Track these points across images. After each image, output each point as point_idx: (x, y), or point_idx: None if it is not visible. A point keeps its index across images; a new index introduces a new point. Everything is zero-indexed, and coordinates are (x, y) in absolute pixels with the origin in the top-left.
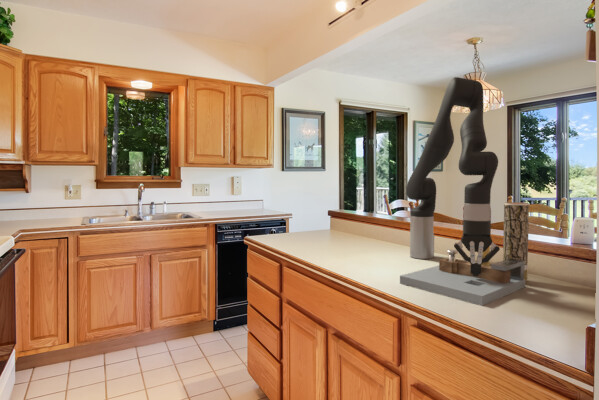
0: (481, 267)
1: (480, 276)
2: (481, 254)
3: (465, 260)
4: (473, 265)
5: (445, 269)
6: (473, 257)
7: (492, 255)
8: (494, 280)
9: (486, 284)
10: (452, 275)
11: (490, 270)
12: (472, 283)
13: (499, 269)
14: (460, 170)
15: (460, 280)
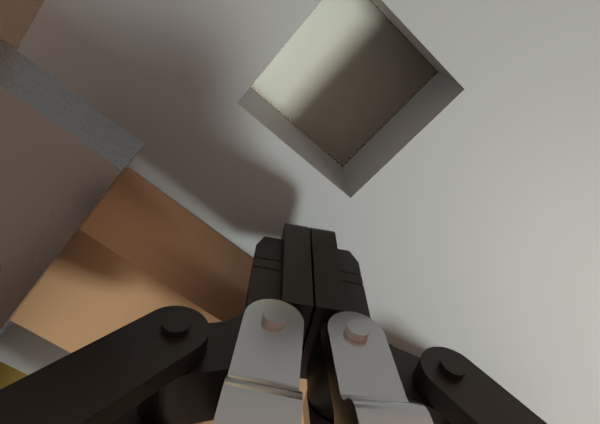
0: None
1: (250, 267)
2: (237, 407)
3: (459, 353)
4: (344, 296)
5: None
6: (362, 383)
7: (28, 391)
8: (139, 182)
9: (243, 50)
10: (468, 310)
11: (148, 258)
12: (339, 176)
13: (15, 51)
14: None
15: (462, 165)
